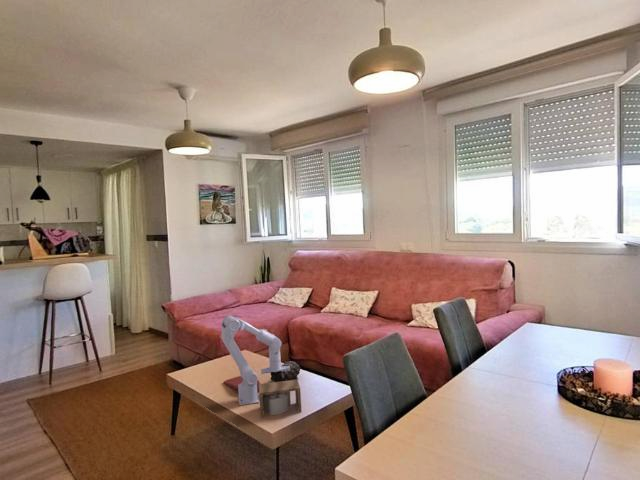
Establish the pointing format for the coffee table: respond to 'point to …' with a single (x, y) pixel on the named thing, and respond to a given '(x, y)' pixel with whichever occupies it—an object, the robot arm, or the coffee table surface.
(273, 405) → the lumpy-topped squat cylinder
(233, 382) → the carton
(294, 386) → the walnut shelf
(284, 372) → the pine cone
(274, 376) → the robot arm
